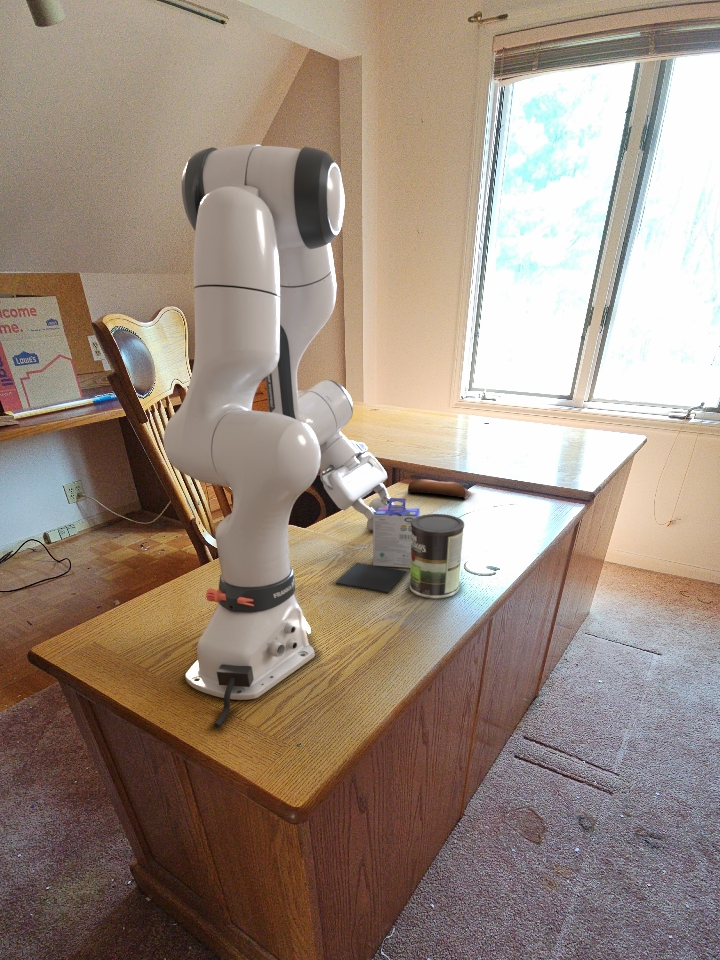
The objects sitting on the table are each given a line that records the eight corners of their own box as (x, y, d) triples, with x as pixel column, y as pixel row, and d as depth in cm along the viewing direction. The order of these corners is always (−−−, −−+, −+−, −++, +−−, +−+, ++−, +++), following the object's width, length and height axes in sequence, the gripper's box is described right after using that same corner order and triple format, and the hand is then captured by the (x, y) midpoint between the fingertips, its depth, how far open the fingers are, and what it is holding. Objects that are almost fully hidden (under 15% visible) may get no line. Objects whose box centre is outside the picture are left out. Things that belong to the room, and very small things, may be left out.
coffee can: (421, 602, 111) (423, 534, 103) (402, 581, 119) (403, 517, 112) (468, 594, 113) (473, 527, 106) (446, 574, 122) (450, 511, 114)
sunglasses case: (472, 491, 170) (470, 475, 165) (466, 508, 168) (464, 492, 162) (417, 485, 177) (413, 469, 172) (409, 502, 174) (406, 486, 169)
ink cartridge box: (419, 559, 129) (421, 497, 121) (416, 569, 124) (418, 505, 117) (377, 556, 131) (376, 495, 123) (372, 566, 126) (371, 503, 118)
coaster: (387, 593, 114) (387, 591, 114) (335, 584, 119) (335, 582, 119) (406, 572, 123) (406, 570, 123) (357, 564, 127) (357, 562, 127)
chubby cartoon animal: (402, 540, 139) (402, 506, 135) (362, 531, 145) (361, 499, 141) (416, 531, 144) (417, 498, 140) (377, 523, 150) (376, 491, 146)
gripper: (325, 463, 111) (371, 516, 113) (367, 440, 127) (406, 487, 128) (307, 483, 115) (352, 534, 117) (350, 459, 131) (388, 504, 132)
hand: (381, 509), depth 123 cm, fingers open, 8 cm apart
